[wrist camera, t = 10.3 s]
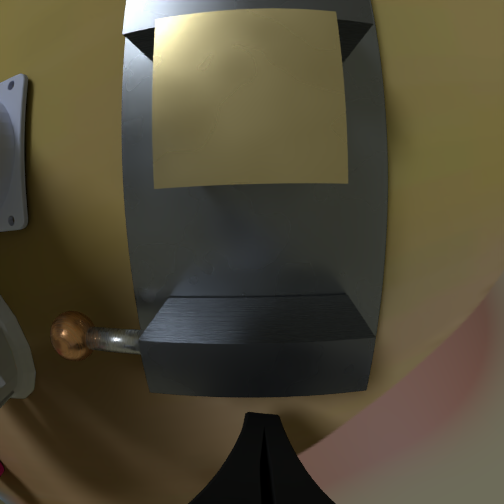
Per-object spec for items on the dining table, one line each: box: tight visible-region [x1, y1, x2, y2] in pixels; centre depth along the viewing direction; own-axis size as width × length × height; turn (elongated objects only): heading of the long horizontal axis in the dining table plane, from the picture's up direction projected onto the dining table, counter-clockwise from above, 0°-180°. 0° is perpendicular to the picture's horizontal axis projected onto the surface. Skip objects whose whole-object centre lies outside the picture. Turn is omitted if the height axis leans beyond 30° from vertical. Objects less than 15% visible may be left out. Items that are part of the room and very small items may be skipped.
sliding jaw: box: [50, 295, 376, 397], centre depth 11 cm, size 12×2×4 cm, turn 92°
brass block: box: [152, 8, 348, 189], centre depth 8 cm, size 4×4×5 cm
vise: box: [122, 0, 388, 335], centre depth 10 cm, size 10×16×4 cm, turn 2°
